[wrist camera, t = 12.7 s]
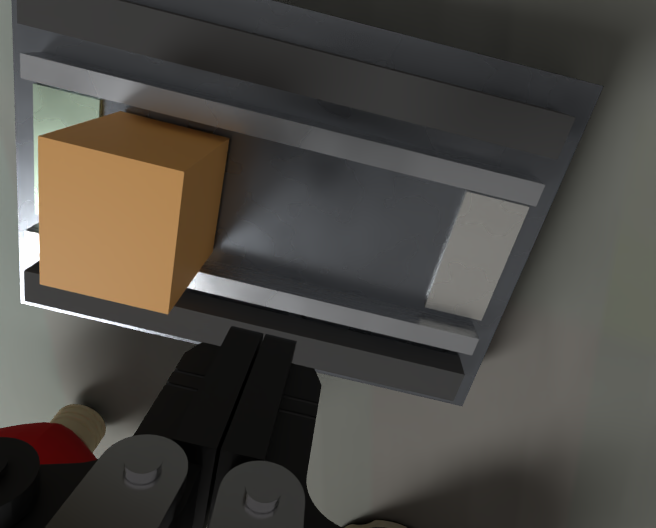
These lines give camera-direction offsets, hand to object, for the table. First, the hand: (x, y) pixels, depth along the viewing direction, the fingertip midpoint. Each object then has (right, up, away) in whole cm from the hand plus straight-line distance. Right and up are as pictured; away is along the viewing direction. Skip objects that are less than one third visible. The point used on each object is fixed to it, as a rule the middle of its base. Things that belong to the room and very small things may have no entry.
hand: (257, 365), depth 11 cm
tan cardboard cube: (-4, +5, +8) cm, 10 cm away
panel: (0, +6, +10) cm, 12 cm away
